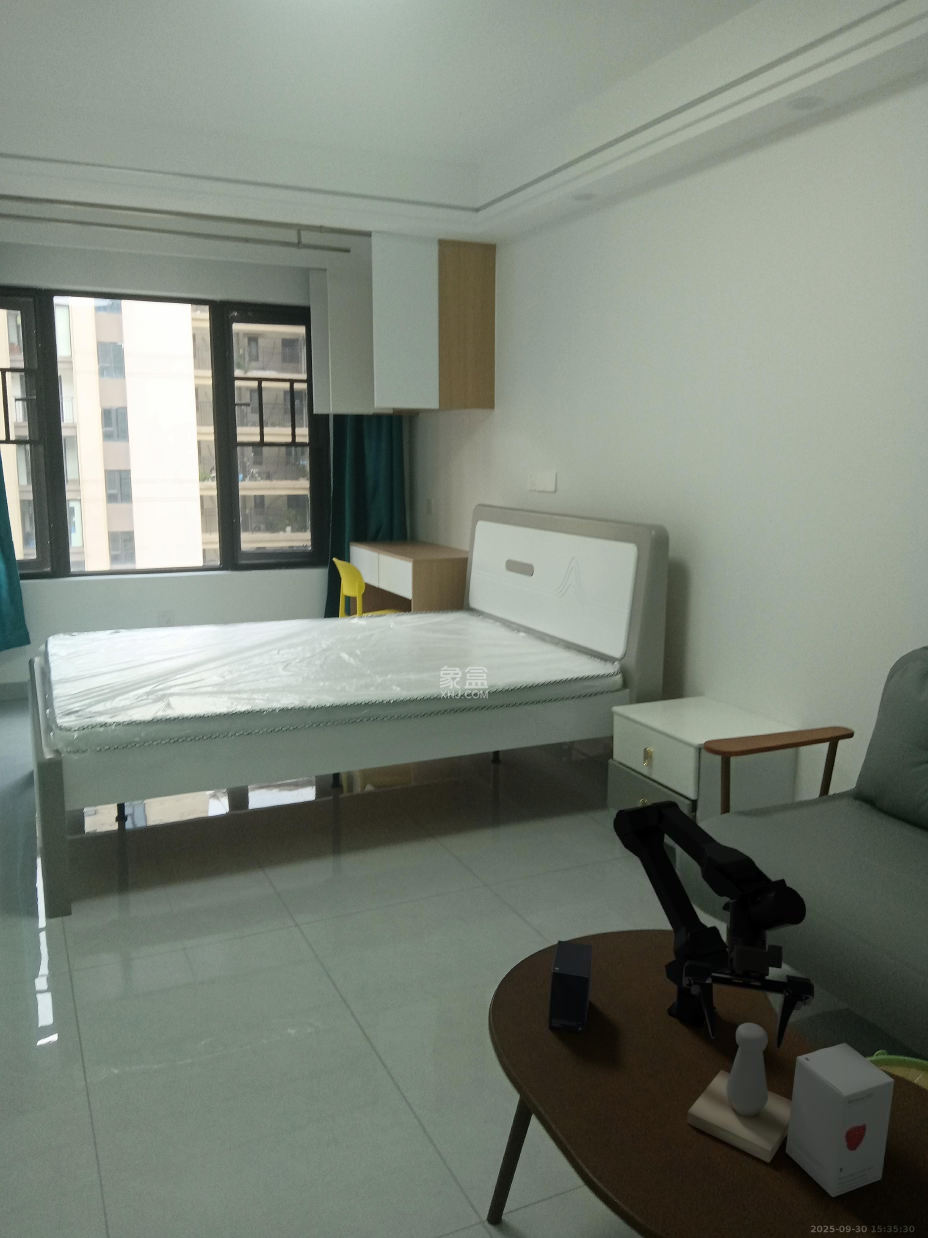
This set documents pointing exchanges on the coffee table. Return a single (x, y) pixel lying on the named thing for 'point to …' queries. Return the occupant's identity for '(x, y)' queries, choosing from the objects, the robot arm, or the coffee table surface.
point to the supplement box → (839, 1118)
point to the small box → (570, 986)
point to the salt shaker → (748, 1071)
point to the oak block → (741, 1120)
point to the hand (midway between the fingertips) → (745, 1043)
